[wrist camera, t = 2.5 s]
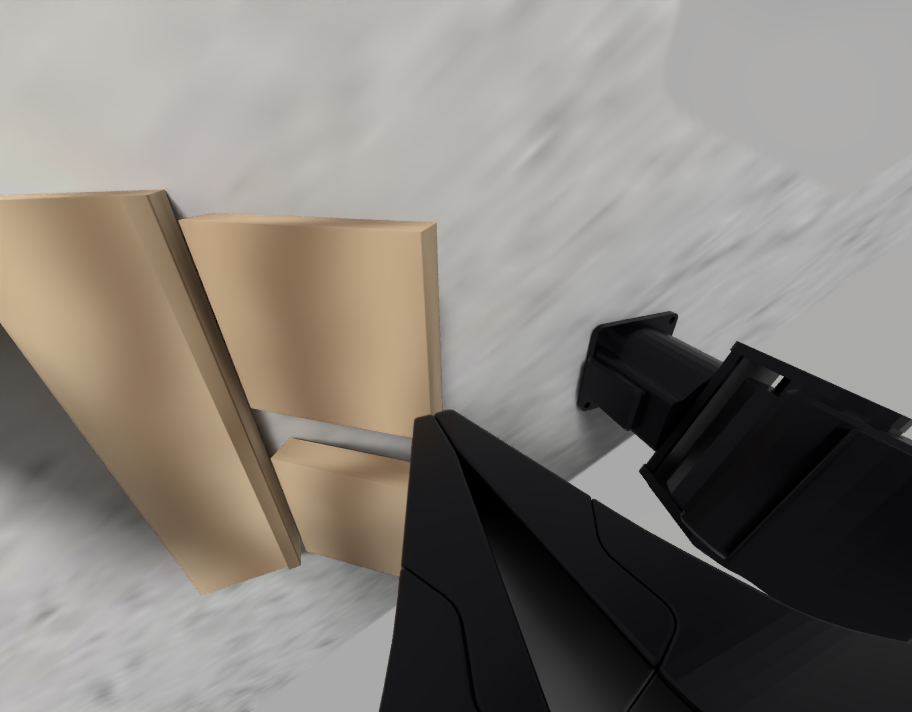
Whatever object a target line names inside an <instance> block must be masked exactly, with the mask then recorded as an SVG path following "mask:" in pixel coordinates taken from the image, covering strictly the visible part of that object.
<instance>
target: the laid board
mask: <svg viewBox="0 0 912 712" xmlns="http://www.w3.org/2000/svg"><path fill="white" fill-rule="evenodd" d="M0 323H1V325H2V326H3V327H4V329H5V330H6V331H7V333H8V334H9V335H10V337H11V338H12V339H13V341H14V342H15V344H16V345H17V346H18V348H19V349H20V350H21V352H22V353H23V354H24V356H25V357H26V358H27V360H28V361H29V363H30V364H31V365H32V367H33V368H34V369H35V371H36V372H37V373H38V375H39V376H40V377H41V379H42V380H43V382H44V383H45V384H46V386H47V387H48V388H49V390H50V391H51V392H52V394H53V395H54V396H55V398H56V399H57V401H58V402H59V403H60V405H61V406H62V407H63V409H64V410H65V411H66V413H67V414H68V415H69V417H70V418H71V420H72V421H73V422H74V424H75V425H76V426H77V428H78V429H79V430H80V432H81V433H82V434H83V436H84V437H85V439H86V440H87V441H88V443H89V444H90V445H91V447H92V448H93V449H94V451H95V452H96V453H97V455H98V456H99V458H100V459H101V460H102V462H103V463H104V464H105V466H106V467H107V468H108V470H109V471H110V472H111V474H112V475H113V476H114V478H115V479H116V481H117V482H118V483H119V485H120V486H121V487H122V489H123V490H124V491H125V493H126V494H127V495H128V497H129V498H130V500H131V501H132V502H133V504H134V505H135V506H136V508H137V509H138V510H139V512H140V513H141V514H142V516H143V517H144V519H145V520H146V521H147V523H148V524H149V525H150V527H151V528H152V529H153V531H154V532H155V533H156V535H157V536H158V538H159V539H160V540H161V542H162V543H163V544H164V546H165V547H166V548H167V550H168V551H169V552H170V554H171V555H172V557H173V558H174V559H175V561H176V562H177V563H178V565H179V566H180V567H181V569H182V570H183V571H184V573H185V574H186V576H187V577H188V578H189V580H190V581H191V582H192V584H193V585H194V586H195V588H196V589H197V590H198V592H199V593H200V595H204V594H207V593H210V592H213V591H216V590H219V589H222V588H225V587H228V586H231V585H234V584H237V583H240V582H243V581H246V580H249V579H252V578H255V577H258V576H261V575H264V574H267V573H270V572H273V571H276V570H279V569H282V568H285V567H289V569H292V568H295V567H298V566H300V565H301V538H300V536H299V533H298V531H297V528H296V526H295V523H294V521H293V518H292V515H291V513H290V510H289V508H288V505H287V503H286V500H285V497H284V495H283V492H282V490H281V487H280V485H279V482H278V480H277V477H276V474H275V472H274V469H273V467H272V464H271V462H270V459H269V456H268V454H267V451H266V449H265V446H264V444H263V441H262V439H261V436H260V433H259V431H258V428H257V426H256V423H255V421H254V418H253V415H252V413H251V410H250V408H249V405H248V403H247V400H246V398H245V395H244V392H243V390H242V387H241V385H240V382H239V380H238V377H237V374H236V372H235V369H234V367H233V364H232V362H231V359H230V357H229V354H228V351H227V349H226V346H225V344H224V341H223V339H222V336H221V333H220V331H219V328H218V326H217V323H216V321H215V318H214V315H213V313H212V310H211V308H210V305H209V303H208V300H207V298H206V295H205V292H204V290H203V287H202V285H201V282H200V280H199V277H198V274H197V272H196V269H195V267H194V264H193V262H192V259H191V257H190V254H189V251H188V249H187V246H186V244H185V241H184V239H183V236H182V233H181V231H180V228H179V226H178V223H177V221H176V218H175V216H174V213H173V210H172V208H171V205H170V203H169V200H168V198H167V195H166V192H165V190H141V191H114V192H86V193H58V194H31V195H3V196H0Z"/></svg>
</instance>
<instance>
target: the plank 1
mask: <svg viewBox="0 0 912 712" xmlns="http://www.w3.org/2000/svg"><path fill="white" fill-rule="evenodd" d="M178 221H179V224H180V226H181V229H182V231H183V234H184V236H185V239H186V242H187V244H188V247H189V249H190V252H191V255H192V257H193V260H194V262H195V265H196V267H197V270H198V273H199V275H200V278H201V280H202V283H203V285H204V288H205V291H206V293H207V296H208V298H209V301H210V304H211V306H212V309H213V311H214V314H215V316H216V319H217V322H218V324H219V327H220V329H221V332H222V334H223V337H224V340H225V342H226V345H227V347H228V350H229V353H230V355H231V358H232V360H233V363H234V365H235V368H236V371H237V373H238V376H239V378H240V381H241V384H242V386H243V389H244V391H245V394H246V396H247V399H248V402H249V404H250V407H251V408H253V409H259V410H264V411H269V412H275V413H280V414H286V415H291V416H296V417H302V418H307V419H313V420H318V421H323V422H329V423H334V424H340V425H345V426H350V427H356V428H361V429H367V430H372V431H377V432H383V433H388V434H394V435H399V436H404V437H410V438H412V436H413V425H414V419H415V418H416V417H420V416H424V415H428V414H432V415H434V414H435V413H437V412H441V411H442V381H441V349H440V318H439V286H438V255H437V223H434V222H412V221H389V220H366V219H343V218H320V217H297V216H274V215H252V214H229V213H212V214H207V215H202V216H196V217H191V218H186V219H181V220H178Z"/></svg>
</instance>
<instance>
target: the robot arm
mask: <svg viewBox="0 0 912 712" xmlns="http://www.w3.org/2000/svg"><path fill="white" fill-rule="evenodd" d="M677 320H678V315H677V314H676V313H674V312H672V311H668V312H663V313H657V314H652V315H647V316H642V317H637V318H632V319H626V320H621V321H616V322H611V323H606V324H601V325H599V326H597V327H596V328H595V330H594V332H593V336H592V340H591V345H590V350H589V354H588V359H587V363H586V368H585V373H584V377H583V382H582V386H581V391H580V395H579V400H578V407H579V408H580V409H581V410H583V411H587V410H591V409H594V408H598V407H600V408H601V409H602V410H603V411H604V412H605V413H606V414H607V415H609V416H610V417H611V418H612V419H613V420H614V421H615V422H617V423H618V424H619V425H620V426H621V427H622V428H623V429H625V430H626V431H630V430H631V431H632V432H633V433H634V434H636V435H637V436H638V437H639V438H640V439H641V440H643V441H644V442H645V443H646V444H647V445H648V446H649V447H651V448H652V449H653V450H654V451H656V452H655V453H654V455H653V456H652V457H651V459H650V460H649V461H648V462H647V464H644V465H643V466H642V467H641V469H640V470H639V472H640V474H641V475H642V476H643V478H644V479H645V480H646V482H647V483H648V485H649V487H650V488H651V489H652V491H653V492H654V493H655V495H656V496H657V497H658V498H659V500H660V501H661V503H662V504H663V505H664V507H665V508H666V509H667V511H668V512H669V513H670V514H671V516H672V517H673V519H674V520H675V521H676V523H677V524H678V525H679V526H680V528H681V529H682V531H683V532H684V533H685V535H686V536H687V537H688V538H689V540H690V541H691V543H692V544H693V545H694V546H695V547H696V548H698V549H699V550H701V551H702V552H703V553H704V554H706V555H707V556H709V557H710V558H712V559H713V560H715V561H716V562H717V563H719V564H720V565H722V566H723V567H725V568H727V569H728V570H730V571H732V572H734V573H736V574H738V575H740V576H742V577H743V578H745V579H747V580H748V581H750V582H751V583H753V584H754V585H756V586H757V587H758V588H759V589H761V590H762V591H763V592H765V593H766V594H765V593H763V592H761V591H759V590H757V589H755V588H754V587H752V586H750V585H748V584H746V583H744V582H742V581H740V580H738V579H736V578H735V577H733V576H731V575H729V574H727V573H725V572H723V571H721V570H719V569H717V568H715V567H713V566H711V565H709V564H708V563H706V562H704V561H702V560H700V559H698V558H696V557H694V556H693V555H691V554H689V553H687V552H685V551H683V550H681V549H679V548H678V547H676V546H674V545H672V544H670V543H668V542H667V541H665V540H663V539H661V538H659V537H657V536H656V535H654V534H652V533H650V532H649V531H647V530H645V529H643V528H642V527H640V526H638V525H637V524H635V523H633V522H631V521H630V520H628V519H627V518H625V517H623V516H621V515H620V514H618V513H617V512H615V511H613V510H612V509H610V508H608V507H607V506H605V505H604V504H602V503H601V502H599V501H597V500H596V499H592V500H591V497H590V496H589V495H588V494H586V493H584V492H583V491H581V490H580V489H578V488H576V487H575V486H573V485H572V484H570V483H568V482H567V481H565V480H564V479H562V478H561V477H559V476H557V475H556V474H554V473H553V472H551V471H549V470H548V469H546V468H545V467H543V466H542V465H540V464H538V463H537V462H535V461H534V460H532V459H530V458H529V457H527V456H526V455H524V454H522V453H521V452H519V451H518V450H516V449H515V448H513V447H511V446H510V445H508V444H507V443H505V442H503V441H502V440H500V439H499V438H497V437H495V436H494V435H492V434H491V433H489V432H488V431H486V430H484V429H483V428H481V427H480V426H478V425H476V424H475V423H473V422H472V421H470V420H468V419H467V418H465V417H464V416H462V415H461V414H459V413H457V412H456V411H454V410H451V409H450V410H445V411H441V412H437V413H435V414H434V415H432V414H428V415H424V416H420V417H416V418H415V419H414V425H413V436H412V447H411V458H410V469H409V480H408V491H407V502H406V513H405V524H404V535H403V546H402V557H401V571H400V576H399V587H398V598H397V606H396V615H395V623H394V631H393V639H392V644H391V650H390V655H389V661H388V666H387V672H386V678H385V684H384V688H383V693H382V698H381V703H380V708H379V712H912V440H911V439H909V438H906V437H904V436H902V435H901V434H902V433H903V432H904V433H905V432H906V431H907V430H908V429H909V428H910V427H911V426H912V419H910V418H908V417H906V416H903V415H901V414H899V413H897V412H895V411H892V410H890V409H888V408H886V407H883V406H881V405H879V404H877V403H875V402H872V401H870V400H868V399H866V398H863V397H861V396H859V395H857V394H854V393H852V392H850V391H848V390H846V389H843V388H841V387H839V386H837V385H834V384H832V383H830V382H827V381H825V380H823V379H821V378H819V377H817V376H814V375H812V374H810V373H807V372H805V371H803V370H801V369H799V368H796V367H794V366H792V365H790V364H787V363H785V362H783V361H781V360H779V359H776V358H774V357H772V356H769V355H767V354H765V353H763V352H760V351H758V350H756V349H754V348H752V347H749V346H747V345H745V344H743V343H740V342H738V341H736V343H735V344H734V345H733V347H732V348H731V349H730V350H731V353H730V354H729V355H728V357H727V358H726V359H725V361H724V362H722V361H720V360H718V359H716V358H714V357H712V356H710V355H708V354H706V353H704V352H702V351H700V350H698V349H696V348H694V347H692V346H690V345H689V344H687V343H685V342H683V341H681V340H679V339H677V338H675V337H673V336H672V334H673V331H674V328H675V325H676V323H677ZM601 333H602V334H601ZM779 375H782V376H784V377H783V379H782V380H781V381H780V383H778V385H777V386H776V387H775V388H774V387H772V386H771V385H772V383H773V382H774V381H775V380H776V379H777V377H778V376H779ZM767 594H768V595H767Z"/></svg>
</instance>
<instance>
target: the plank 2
mask: <svg viewBox="0 0 912 712" xmlns="http://www.w3.org/2000/svg"><path fill="white" fill-rule="evenodd" d="M271 461H272V464H273V466H274V469H275V471H276V474H277V476H278V479H279V482H280V484H281V487H282V489H283V492H284V494H285V497H286V500H287V502H288V505H289V507H290V510H291V513H292V515H293V518H294V520H295V523H296V525H297V528H298V531H299V533H300V536H301V538H302V541H303V544H304V546H305V549H306V551H308V552H311V553H315V554H318V555H322V556H326V557H329V558H333V559H336V560H340V561H343V562H347V563H351V564H354V565H358V566H361V567H365V568H369V569H372V570H376V571H379V572H383V573H387V574H390V575H394V576H397V577H399V576H400V571H401V557H402V546H403V535H404V524H405V513H406V502H407V491H408V480H409V469H410V462H408V461H403V460H398V459H393V458H388V457H383V456H378V455H373V454H368V453H363V452H358V451H353V450H348V449H343V448H338V447H333V446H328V445H323V444H318V443H313V442H308V441H303V440H298V439H293V438H289V439H288V440H287V441H286V443H285V444H284V445H283V446H282V447H281V448H280V449H279V450H278V451H277V452H276V453H275V454H274V455H273V457H272V458H271Z"/></svg>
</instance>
